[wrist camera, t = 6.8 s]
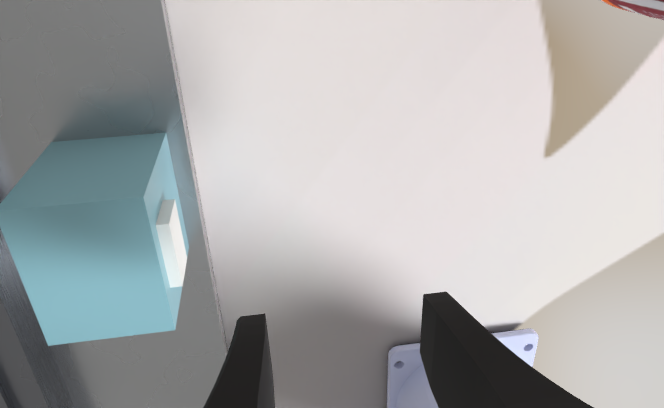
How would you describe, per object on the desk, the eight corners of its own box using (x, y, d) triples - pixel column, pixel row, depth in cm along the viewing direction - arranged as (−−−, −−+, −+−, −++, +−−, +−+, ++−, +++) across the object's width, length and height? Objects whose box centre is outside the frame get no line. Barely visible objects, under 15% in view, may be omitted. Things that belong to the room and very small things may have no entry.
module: (198, 245, 22) (187, 328, 17) (88, 257, 21) (48, 345, 17) (177, 131, 19) (157, 195, 15) (51, 142, 19) (-7, 211, 15)
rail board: (239, 418, 28) (239, 469, 26) (43, 446, 27) (21, 502, 25) (159, -30, 17) (144, -20, 15) (-173, -14, 16) (-251, 1, 14)
